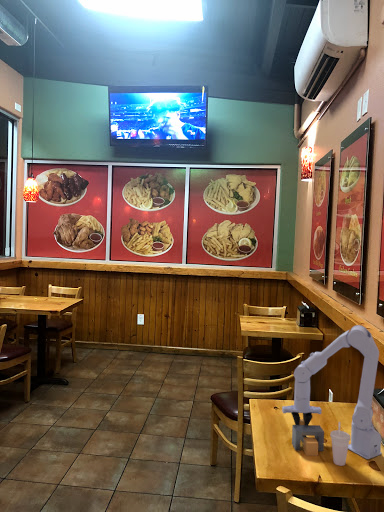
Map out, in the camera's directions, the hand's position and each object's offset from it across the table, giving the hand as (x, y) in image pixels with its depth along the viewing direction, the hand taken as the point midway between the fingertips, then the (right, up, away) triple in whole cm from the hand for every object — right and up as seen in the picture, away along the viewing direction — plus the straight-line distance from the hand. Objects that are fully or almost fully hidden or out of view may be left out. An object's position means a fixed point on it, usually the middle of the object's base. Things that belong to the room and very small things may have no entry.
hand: (300, 431), depth 156 cm
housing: (0, -2, -9) cm, 9 cm away
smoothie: (+8, -3, -19) cm, 20 cm away
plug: (0, -2, -7) cm, 7 cm away
